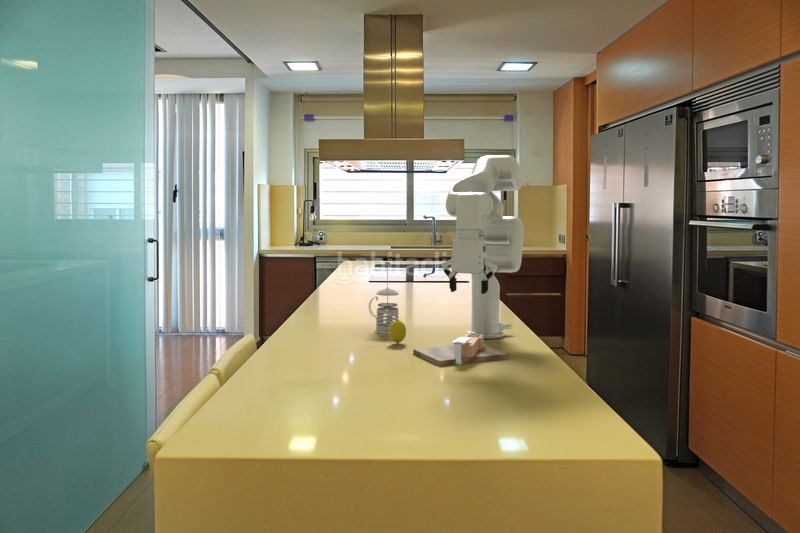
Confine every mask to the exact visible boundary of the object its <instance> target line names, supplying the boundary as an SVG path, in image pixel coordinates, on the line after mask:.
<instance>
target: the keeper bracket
mask: <svg viewBox="0 0 800 533" xmlns="http://www.w3.org/2000/svg"><path fill="white" fill-rule="evenodd" d="M470 340H471V338H467V337H464V336H459V337H458V338H456V339H455V340H453V341H452V342H451V344H452V345H454V359H456V364H455V365H459V366H461V365H464V364H463V345H464V344H466V343H467V342H468V341H470Z"/></svg>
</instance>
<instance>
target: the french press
mask: <svg viewBox="0 0 800 533" xmlns="http://www.w3.org/2000/svg"><path fill="white" fill-rule="evenodd" d="M384 265H385V266H386V267H387V269H386V270H387V271H386V272H387V273H386V274H387V275H386V277H387V278H386V280H387V281H386V283H387V284H386V286H387V287H386V288H383V289H382V288H381V289H380V290H378V291H377V292H375V293H376V295H377V296H374V297H372V299H370V300H369V303H368V311H369V313H370V315H371V316H372V317H374V318H375V319H376V322H375V323H376V325H375V327H376V328H375V329H374V331H373V333H375V334H379V333H380V335H381V334H382V335H389V328H390V325H391V324H392V322H394V321H396V320H397V319H398V320H399V308H398V303H395V302H389V296H391V297H393V296H394V297H395V296H398V295H400V293H399V291H397V290H395V289H393V288H389V266H390V265H391V262H390V261H385V262H384ZM378 296H382V297H383V296H385V297H387V300H386V301H387V302H380V303H378V304H377V306H378V308H377V309H376V315H375V314H374V313H373V311H372V308H371V307H372V306H371V305H372V302H373V300H374V299H375V300H376V302H378V300H379V297H378Z"/></svg>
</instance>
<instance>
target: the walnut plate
mask: <svg viewBox="0 0 800 533" xmlns="http://www.w3.org/2000/svg"><path fill="white" fill-rule="evenodd" d="M412 350H413V351H412V352H413V353H412V354H413V355H414V356H416V357H419V358H421V359H423V360H425V361H427V362H430V363H431V364H434V365H435V366H438V367H443V366H454V365H457V364H456V359H454V344H452V345H444V346H433V347H424V348H423V347H421V348H413V349H412ZM509 359H510V353H509V352H506V351H503V350H500V349H498V348H494V347H492V346H488V345H486V344H484V346H483V347H482V349H481V350H478V351H477V352H476V353H475V355H474V356H473V357H463V364H462V365H464V364H470V363H471V364H472V363H480V362H489V361H499V360H509Z"/></svg>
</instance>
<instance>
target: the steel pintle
mask: <svg viewBox="0 0 800 533" xmlns="http://www.w3.org/2000/svg"><path fill="white" fill-rule="evenodd" d="M470 337H477V333H476V332H470Z"/></svg>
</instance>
